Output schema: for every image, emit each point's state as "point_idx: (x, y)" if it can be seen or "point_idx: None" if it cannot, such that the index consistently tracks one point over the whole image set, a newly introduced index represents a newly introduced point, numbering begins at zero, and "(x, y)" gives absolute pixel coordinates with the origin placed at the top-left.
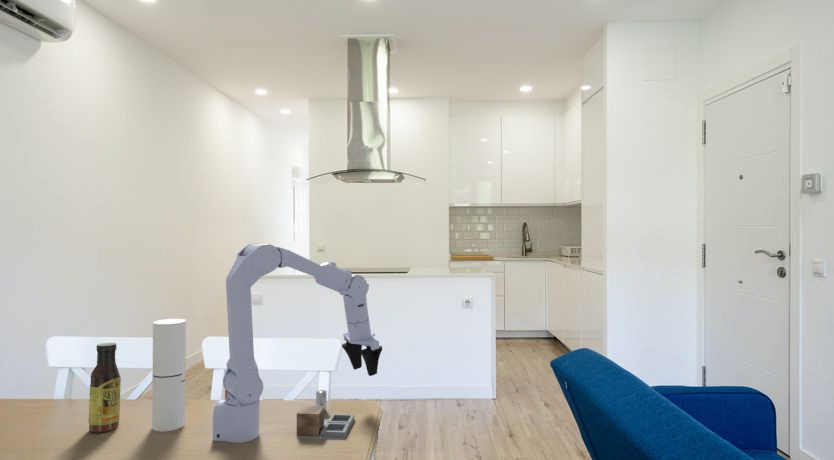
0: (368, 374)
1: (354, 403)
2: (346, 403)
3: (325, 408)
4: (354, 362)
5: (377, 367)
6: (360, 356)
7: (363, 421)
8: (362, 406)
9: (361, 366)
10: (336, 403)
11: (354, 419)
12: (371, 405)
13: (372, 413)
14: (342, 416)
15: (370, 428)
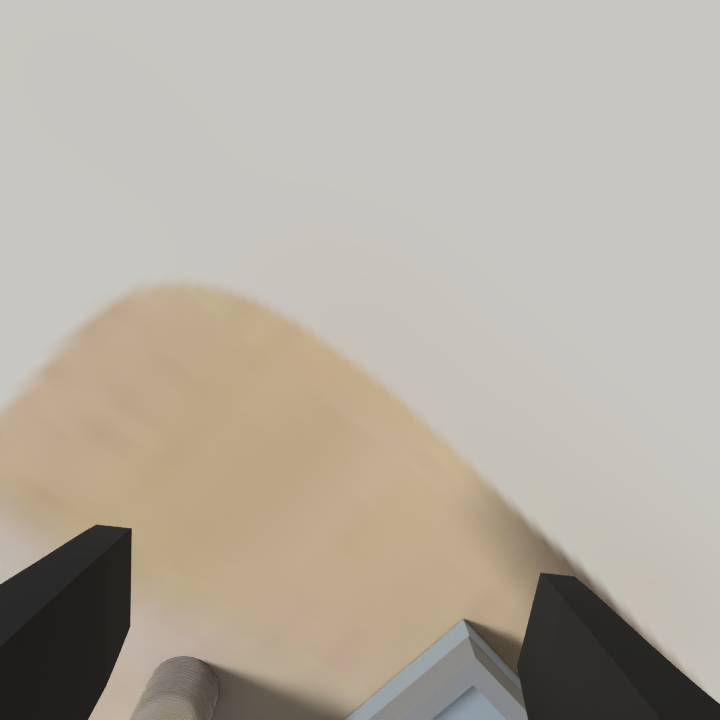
0: (523, 687)
1: (127, 379)
2: (86, 424)
3: (203, 714)
4: (78, 709)
5: (631, 629)
6: (30, 644)
7: (472, 553)
8: (225, 376)
9: (128, 534)
10: (37, 479)
11: (468, 635)
12: (253, 312)
13: (396, 415)
14: (425, 716)
15: (597, 593)
